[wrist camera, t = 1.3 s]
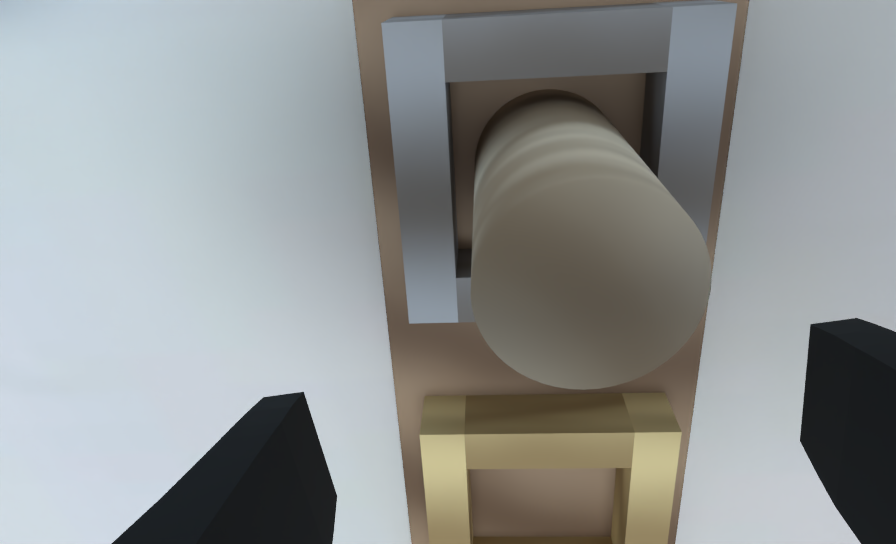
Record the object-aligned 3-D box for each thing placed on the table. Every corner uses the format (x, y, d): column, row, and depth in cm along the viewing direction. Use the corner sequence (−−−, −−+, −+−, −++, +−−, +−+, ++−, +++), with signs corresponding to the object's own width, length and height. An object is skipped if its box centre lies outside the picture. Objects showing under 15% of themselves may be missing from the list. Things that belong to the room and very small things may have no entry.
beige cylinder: (547, 56, 17) (596, 123, 9) (648, 157, 18) (761, 287, 11) (446, 165, 18) (422, 295, 11) (544, 253, 19) (582, 426, 12)
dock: (356, -24, 17) (332, -23, 14) (740, -47, 16) (791, -50, 14) (417, 559, 26) (410, 626, 24) (663, 559, 26) (684, 629, 23)
